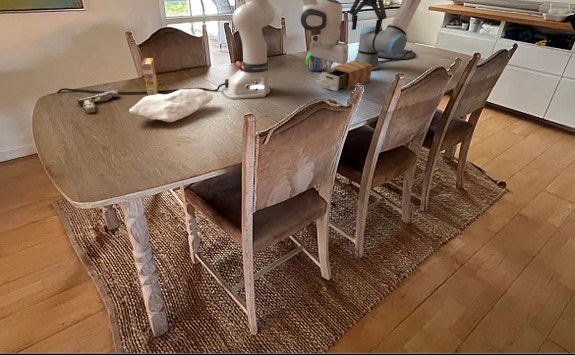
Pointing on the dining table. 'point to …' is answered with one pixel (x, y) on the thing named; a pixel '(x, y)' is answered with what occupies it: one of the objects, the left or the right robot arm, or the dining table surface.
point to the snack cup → (314, 62)
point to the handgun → (95, 100)
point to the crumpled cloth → (171, 104)
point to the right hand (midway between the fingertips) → (364, 31)
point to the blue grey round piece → (408, 55)
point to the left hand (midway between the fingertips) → (327, 69)
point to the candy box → (150, 76)
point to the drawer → (333, 80)
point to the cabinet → (355, 72)
